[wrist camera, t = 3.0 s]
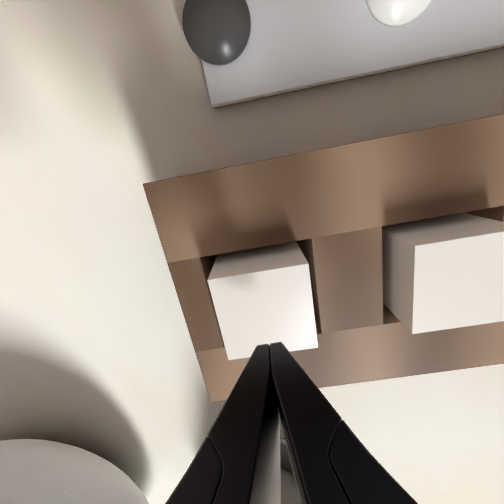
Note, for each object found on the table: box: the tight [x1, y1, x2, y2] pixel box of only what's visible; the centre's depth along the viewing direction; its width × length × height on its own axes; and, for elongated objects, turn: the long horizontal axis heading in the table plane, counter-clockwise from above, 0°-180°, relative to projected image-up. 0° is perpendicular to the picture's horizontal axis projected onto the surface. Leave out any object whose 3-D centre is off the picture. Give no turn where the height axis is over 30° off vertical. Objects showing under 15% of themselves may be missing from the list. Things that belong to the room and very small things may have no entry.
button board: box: [143, 114, 504, 402], centre depth 13 cm, size 24×12×4 cm, turn 100°
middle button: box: [382, 213, 504, 334], centre depth 11 cm, size 4×4×3 cm
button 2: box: [207, 241, 318, 360], centre depth 12 cm, size 4×4×3 cm
